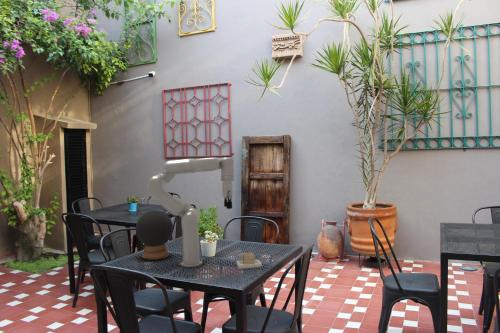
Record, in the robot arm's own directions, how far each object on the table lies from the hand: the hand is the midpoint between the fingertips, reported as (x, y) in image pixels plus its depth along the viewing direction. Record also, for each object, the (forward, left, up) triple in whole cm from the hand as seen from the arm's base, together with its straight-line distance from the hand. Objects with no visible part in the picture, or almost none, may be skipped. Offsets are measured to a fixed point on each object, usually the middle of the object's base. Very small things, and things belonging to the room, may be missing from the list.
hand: (228, 207), depth 260 cm
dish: (+8, +10, -33) cm, 36 cm away
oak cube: (+8, +10, -32) cm, 35 cm away
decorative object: (-30, -43, -33) cm, 62 cm away
